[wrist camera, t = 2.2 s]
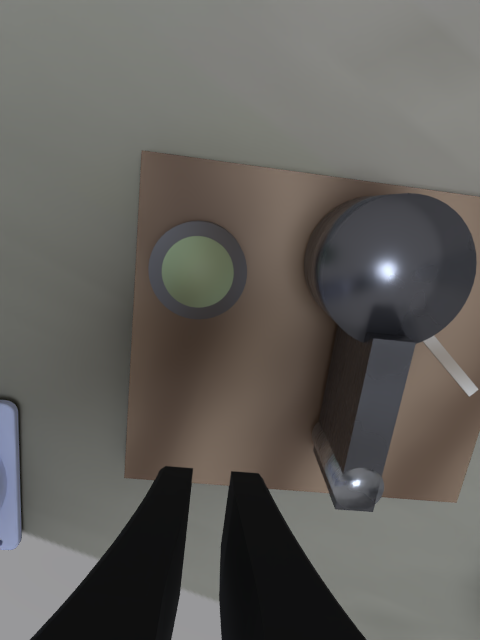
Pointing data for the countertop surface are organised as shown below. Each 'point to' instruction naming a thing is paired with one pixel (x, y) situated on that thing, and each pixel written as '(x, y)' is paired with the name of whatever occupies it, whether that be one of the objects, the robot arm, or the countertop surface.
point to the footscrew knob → (379, 323)
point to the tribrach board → (271, 335)
